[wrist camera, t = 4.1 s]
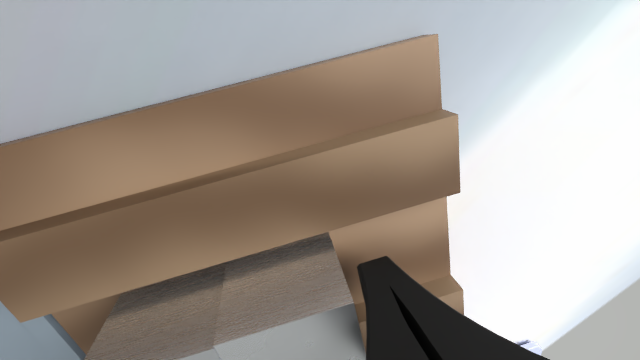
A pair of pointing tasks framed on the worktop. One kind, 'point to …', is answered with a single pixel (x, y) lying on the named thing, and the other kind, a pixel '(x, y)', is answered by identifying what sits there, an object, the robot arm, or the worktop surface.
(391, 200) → the slot board
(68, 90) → the worktop surface
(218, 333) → the chip
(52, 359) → the tray
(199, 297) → the chip
